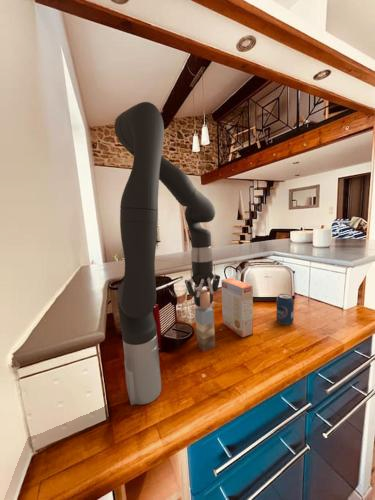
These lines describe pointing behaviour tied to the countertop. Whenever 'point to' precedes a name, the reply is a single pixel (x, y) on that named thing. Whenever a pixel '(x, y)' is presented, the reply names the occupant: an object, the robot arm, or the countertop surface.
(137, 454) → the countertop surface
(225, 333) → the countertop surface
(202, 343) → the tower base
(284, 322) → the soda can
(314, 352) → the countertop surface
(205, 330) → the tower mid
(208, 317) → the tower top
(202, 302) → the pink rounded cylinder
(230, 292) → the cracker box
